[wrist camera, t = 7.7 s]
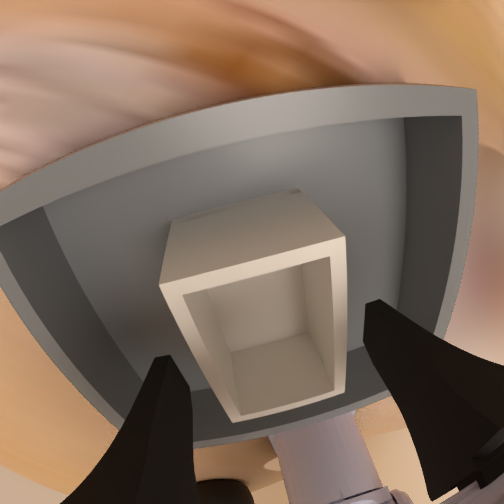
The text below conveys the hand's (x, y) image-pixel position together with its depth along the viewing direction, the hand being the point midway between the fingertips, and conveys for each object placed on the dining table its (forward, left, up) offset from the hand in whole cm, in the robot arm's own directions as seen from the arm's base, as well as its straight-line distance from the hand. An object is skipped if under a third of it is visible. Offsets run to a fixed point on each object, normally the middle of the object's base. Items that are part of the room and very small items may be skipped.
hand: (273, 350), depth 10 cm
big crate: (0, 0, -5) cm, 5 cm away
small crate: (0, 0, -4) cm, 4 cm away
